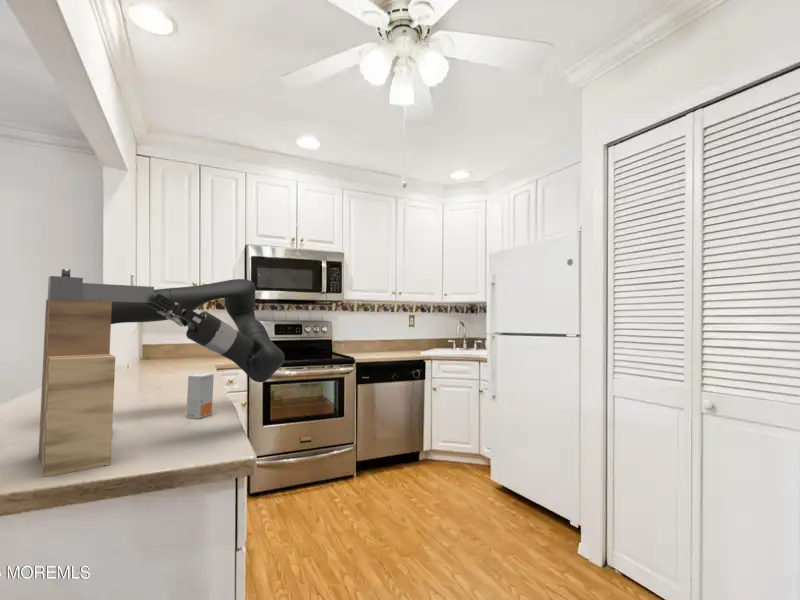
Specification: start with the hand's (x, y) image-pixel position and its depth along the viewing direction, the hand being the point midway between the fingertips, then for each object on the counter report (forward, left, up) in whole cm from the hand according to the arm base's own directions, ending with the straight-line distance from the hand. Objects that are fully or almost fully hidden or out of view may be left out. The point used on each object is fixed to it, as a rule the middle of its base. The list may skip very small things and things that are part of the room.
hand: (149, 297), depth 97 cm
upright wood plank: (+1, -13, -33) cm, 35 cm away
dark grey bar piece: (0, -9, -1) cm, 9 cm away
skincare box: (-21, +19, -33) cm, 44 cm away
